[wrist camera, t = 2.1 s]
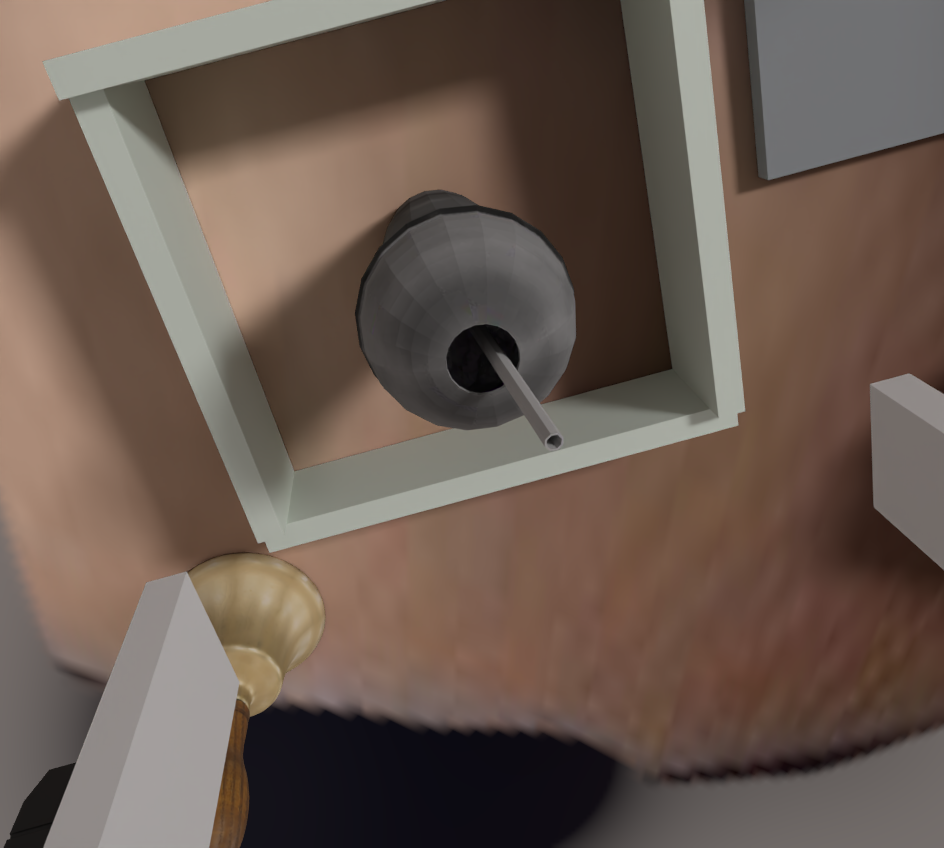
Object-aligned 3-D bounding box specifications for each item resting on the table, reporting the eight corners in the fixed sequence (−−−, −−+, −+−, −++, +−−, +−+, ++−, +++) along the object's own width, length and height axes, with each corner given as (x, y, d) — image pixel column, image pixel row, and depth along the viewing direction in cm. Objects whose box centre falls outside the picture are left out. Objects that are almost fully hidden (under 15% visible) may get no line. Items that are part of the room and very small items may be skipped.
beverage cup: (389, 129, 35) (421, 226, 17) (542, 194, 37) (713, 341, 19) (333, 286, 38) (311, 512, 20) (479, 338, 40) (579, 587, 22)
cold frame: (102, 56, 33) (42, 61, 27) (638, -86, 33) (703, -114, 27) (279, 497, 42) (265, 578, 36) (698, 384, 42) (757, 444, 36)
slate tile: (733, -126, 33) (744, -131, 32) (1024, -203, 33) (1042, -210, 32) (758, 176, 38) (768, 180, 37) (1009, 109, 38) (1024, 111, 37)
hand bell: (269, 525, 43) (224, 772, 28) (353, 634, 46) (352, 902, 32) (134, 598, 44) (24, 873, 29) (227, 699, 47) (169, 989, 33)
